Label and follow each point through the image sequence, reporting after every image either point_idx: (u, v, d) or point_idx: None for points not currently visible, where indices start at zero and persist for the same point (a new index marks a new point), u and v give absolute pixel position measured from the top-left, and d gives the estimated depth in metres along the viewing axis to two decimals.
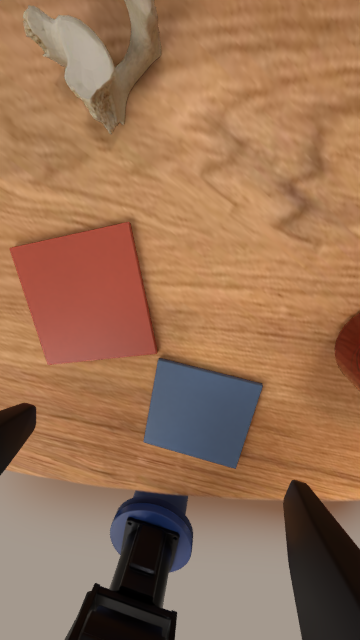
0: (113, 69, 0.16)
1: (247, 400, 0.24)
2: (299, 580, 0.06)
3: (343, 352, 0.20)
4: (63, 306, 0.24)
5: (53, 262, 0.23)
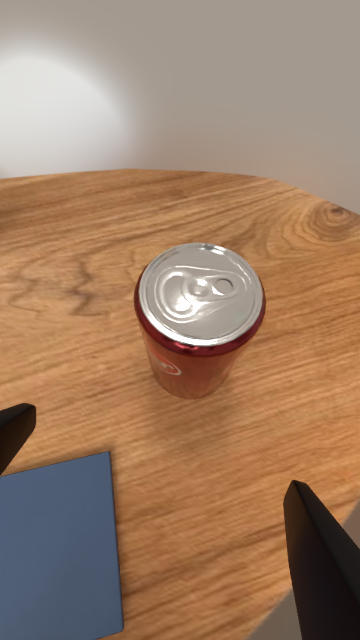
0: None
1: (98, 481, 0.19)
2: (299, 580, 0.06)
3: None
4: None
5: None
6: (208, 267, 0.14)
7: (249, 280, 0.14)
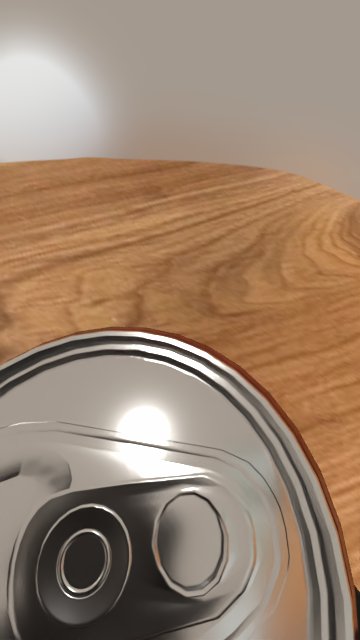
0: None
1: None
2: None
3: None
4: None
5: None
6: (140, 434, 0.04)
7: (288, 500, 0.04)
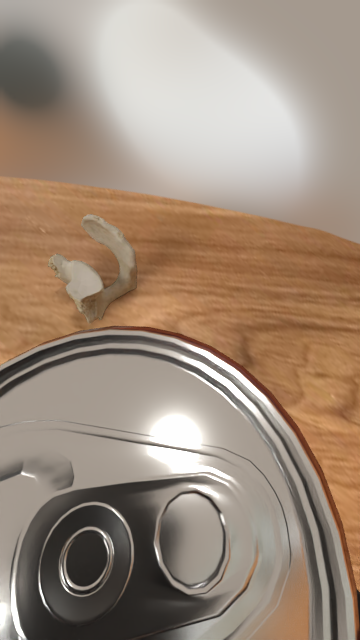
0: (102, 287, 0.23)
1: None
2: None
3: None
4: None
5: None
6: (142, 433, 0.04)
7: (290, 499, 0.04)
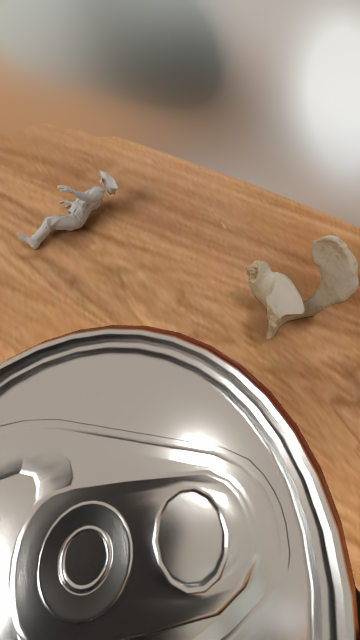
0: (304, 310, 0.21)
1: None
2: None
3: None
4: None
5: None
6: (142, 432, 0.04)
7: (289, 497, 0.04)
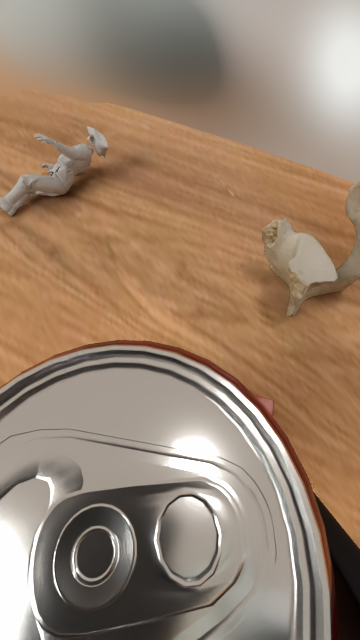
0: (337, 277, 0.17)
1: None
2: None
3: None
4: None
5: None
6: (145, 441, 0.04)
7: (277, 502, 0.04)
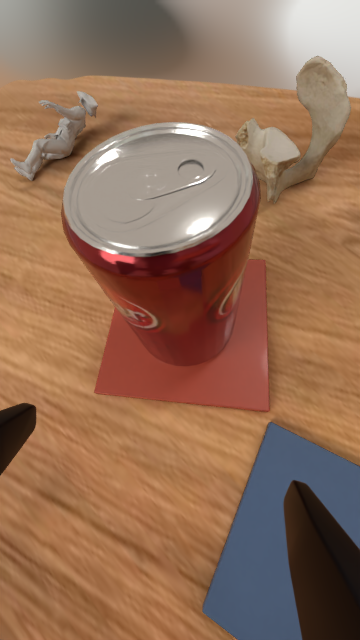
0: None
1: None
2: (299, 580, 0.06)
3: None
4: None
5: None
6: (165, 152, 0.09)
7: (228, 155, 0.09)
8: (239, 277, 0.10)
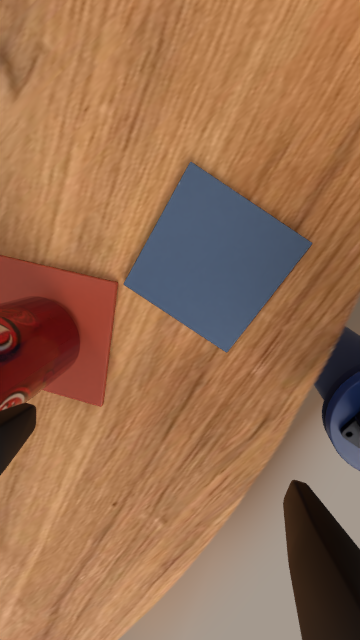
0: None
1: (205, 189, 0.17)
2: (299, 580, 0.06)
3: None
4: None
5: None
6: None
7: None
8: None
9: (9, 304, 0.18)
